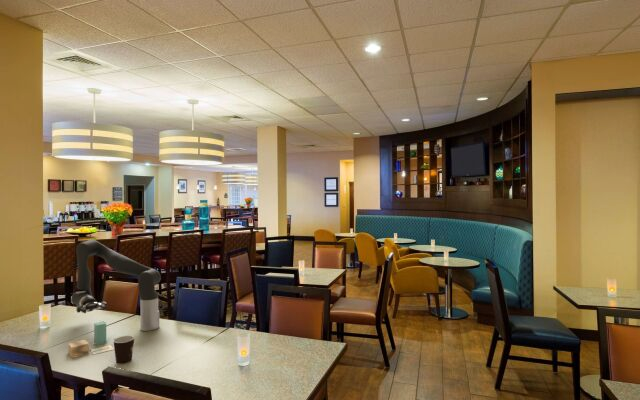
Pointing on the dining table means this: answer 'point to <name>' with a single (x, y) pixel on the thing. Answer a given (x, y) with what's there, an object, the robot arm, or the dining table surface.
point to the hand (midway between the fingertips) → (94, 309)
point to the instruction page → (102, 349)
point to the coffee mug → (123, 349)
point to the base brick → (78, 348)
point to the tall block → (99, 333)
